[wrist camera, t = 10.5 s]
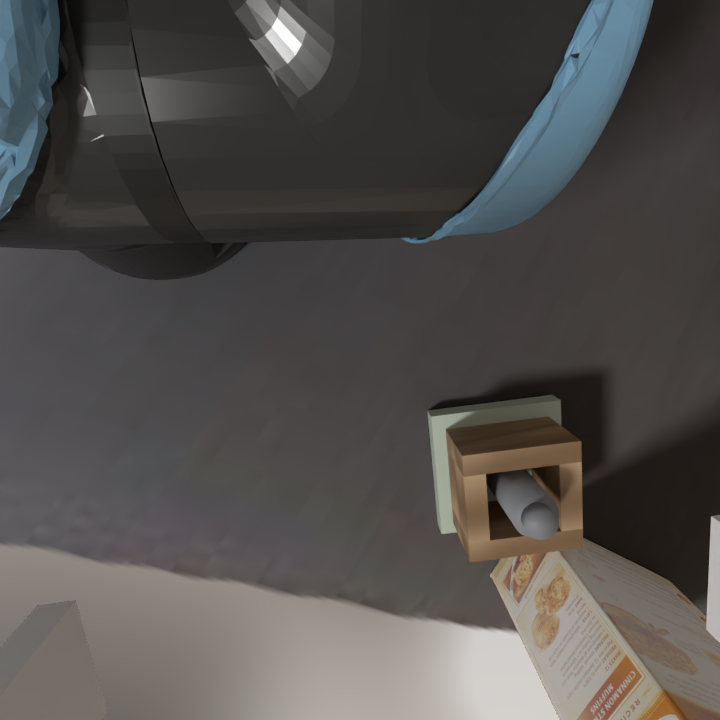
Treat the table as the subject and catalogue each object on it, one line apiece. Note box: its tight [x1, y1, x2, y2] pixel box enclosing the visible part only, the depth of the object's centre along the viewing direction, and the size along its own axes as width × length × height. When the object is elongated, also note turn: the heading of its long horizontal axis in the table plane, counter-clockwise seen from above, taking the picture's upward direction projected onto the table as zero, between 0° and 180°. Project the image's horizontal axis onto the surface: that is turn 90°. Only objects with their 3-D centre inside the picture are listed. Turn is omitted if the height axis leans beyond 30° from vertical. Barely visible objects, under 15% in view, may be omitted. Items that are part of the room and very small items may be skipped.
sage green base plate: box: [428, 395, 561, 540], centre depth 33 cm, size 10×10×10 cm
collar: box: [446, 416, 583, 562], centre depth 34 cm, size 8×8×5 cm
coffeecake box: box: [490, 538, 720, 720], centre depth 31 cm, size 15×7×20 cm, turn 62°
